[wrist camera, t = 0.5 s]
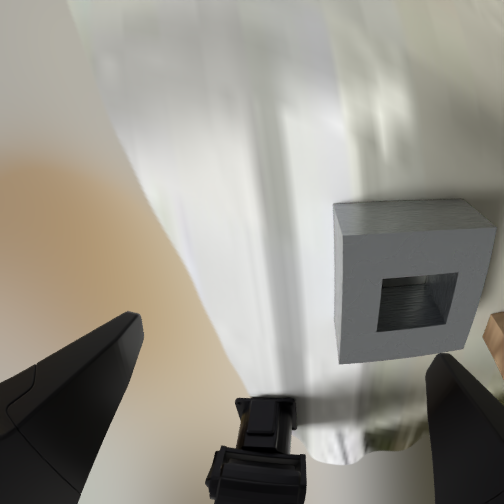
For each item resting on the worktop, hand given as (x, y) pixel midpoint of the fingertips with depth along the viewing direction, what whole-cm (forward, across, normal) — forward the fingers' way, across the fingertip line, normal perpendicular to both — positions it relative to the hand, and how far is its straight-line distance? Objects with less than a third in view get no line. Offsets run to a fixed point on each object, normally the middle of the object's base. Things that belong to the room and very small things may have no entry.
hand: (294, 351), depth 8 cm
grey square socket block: (+14, -8, +4) cm, 17 cm away
